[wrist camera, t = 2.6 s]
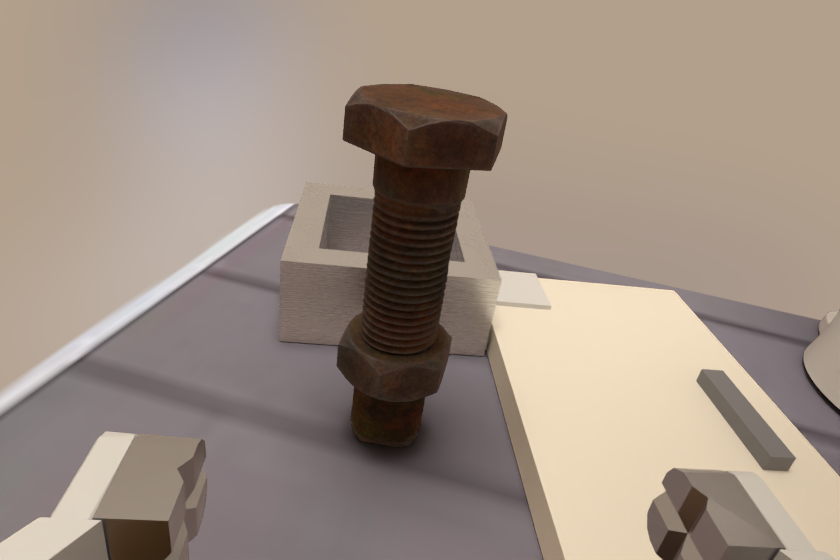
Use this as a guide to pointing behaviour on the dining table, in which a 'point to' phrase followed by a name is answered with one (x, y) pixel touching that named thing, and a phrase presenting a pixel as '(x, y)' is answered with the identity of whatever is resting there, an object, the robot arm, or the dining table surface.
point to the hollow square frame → (347, 263)
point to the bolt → (409, 245)
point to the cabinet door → (634, 415)
